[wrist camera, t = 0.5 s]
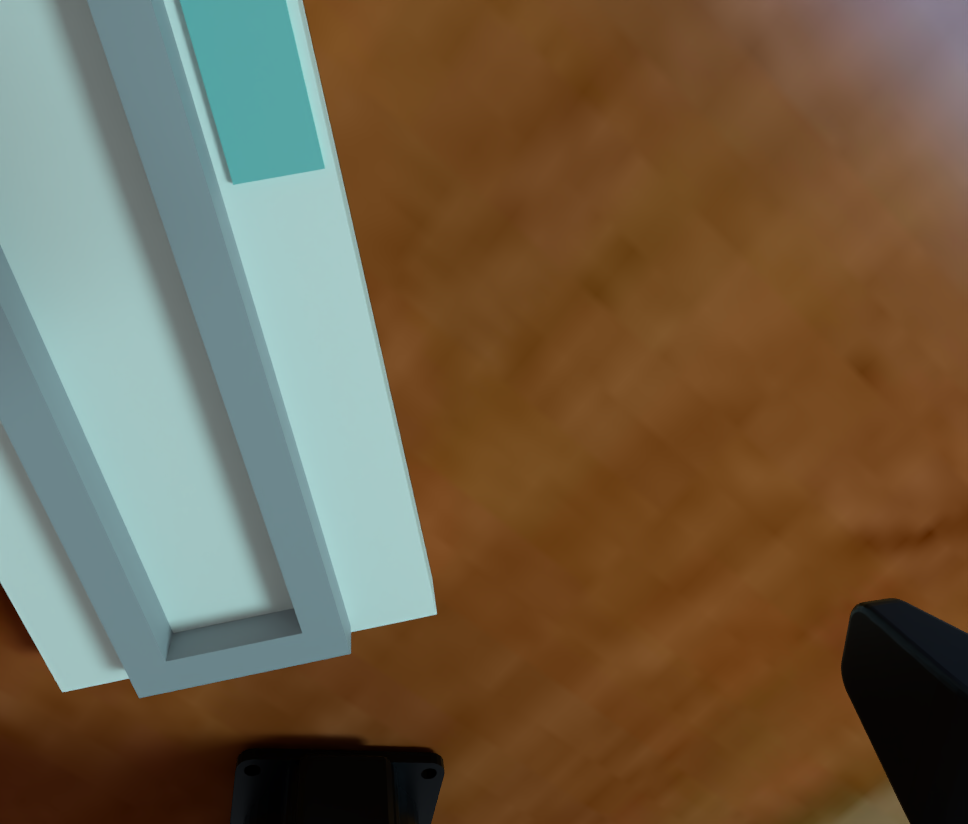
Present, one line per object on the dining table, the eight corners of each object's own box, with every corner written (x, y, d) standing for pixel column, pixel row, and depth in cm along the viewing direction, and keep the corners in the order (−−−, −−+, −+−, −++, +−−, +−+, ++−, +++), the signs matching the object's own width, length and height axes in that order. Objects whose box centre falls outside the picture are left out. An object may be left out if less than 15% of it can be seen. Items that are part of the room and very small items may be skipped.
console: (432, 578, 24) (440, 641, 21) (78, 650, 23) (50, 722, 21) (28, -1219, 10) (-63, -1555, 8) (-875, -1146, 9) (-1251, -1487, 7)
